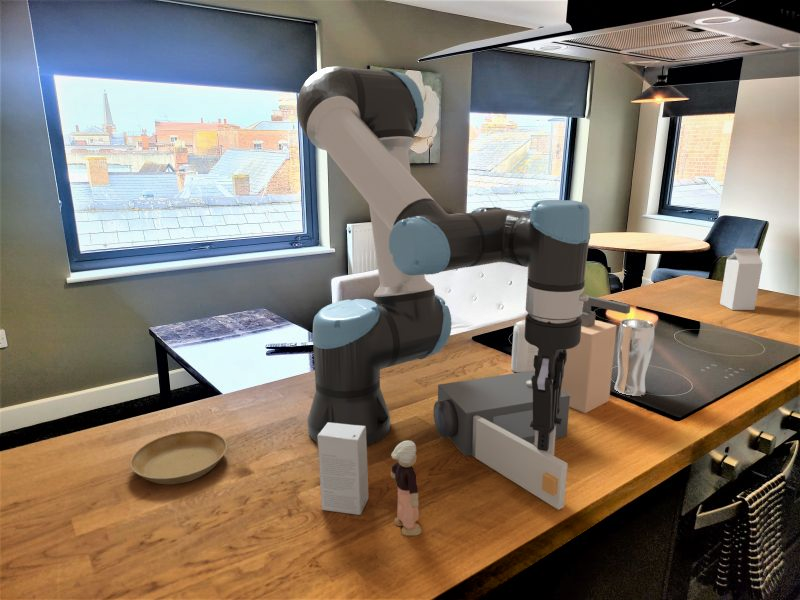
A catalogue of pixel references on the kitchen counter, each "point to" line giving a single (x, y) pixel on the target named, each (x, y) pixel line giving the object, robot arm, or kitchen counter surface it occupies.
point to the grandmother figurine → (406, 488)
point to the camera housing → (491, 408)
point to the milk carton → (741, 280)
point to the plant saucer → (179, 456)
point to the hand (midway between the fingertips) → (543, 464)
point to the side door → (520, 461)
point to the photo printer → (522, 350)
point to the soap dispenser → (591, 358)
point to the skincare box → (343, 468)
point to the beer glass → (633, 355)
